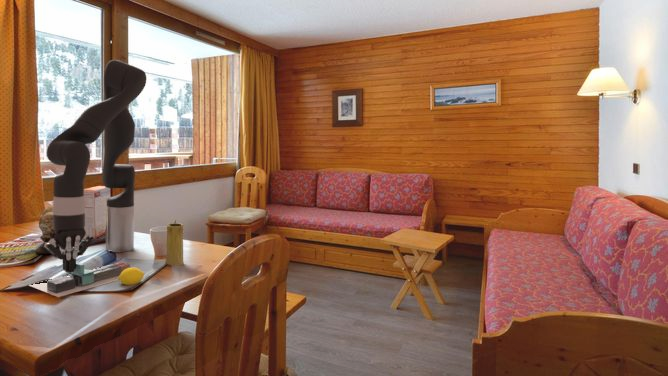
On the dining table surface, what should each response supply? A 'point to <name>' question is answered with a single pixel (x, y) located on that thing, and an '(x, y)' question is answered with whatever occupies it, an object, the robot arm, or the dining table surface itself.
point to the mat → (77, 288)
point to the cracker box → (96, 210)
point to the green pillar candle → (174, 244)
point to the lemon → (131, 276)
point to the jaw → (101, 268)
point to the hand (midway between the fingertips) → (69, 271)
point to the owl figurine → (46, 229)
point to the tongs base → (69, 283)
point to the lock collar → (83, 274)
